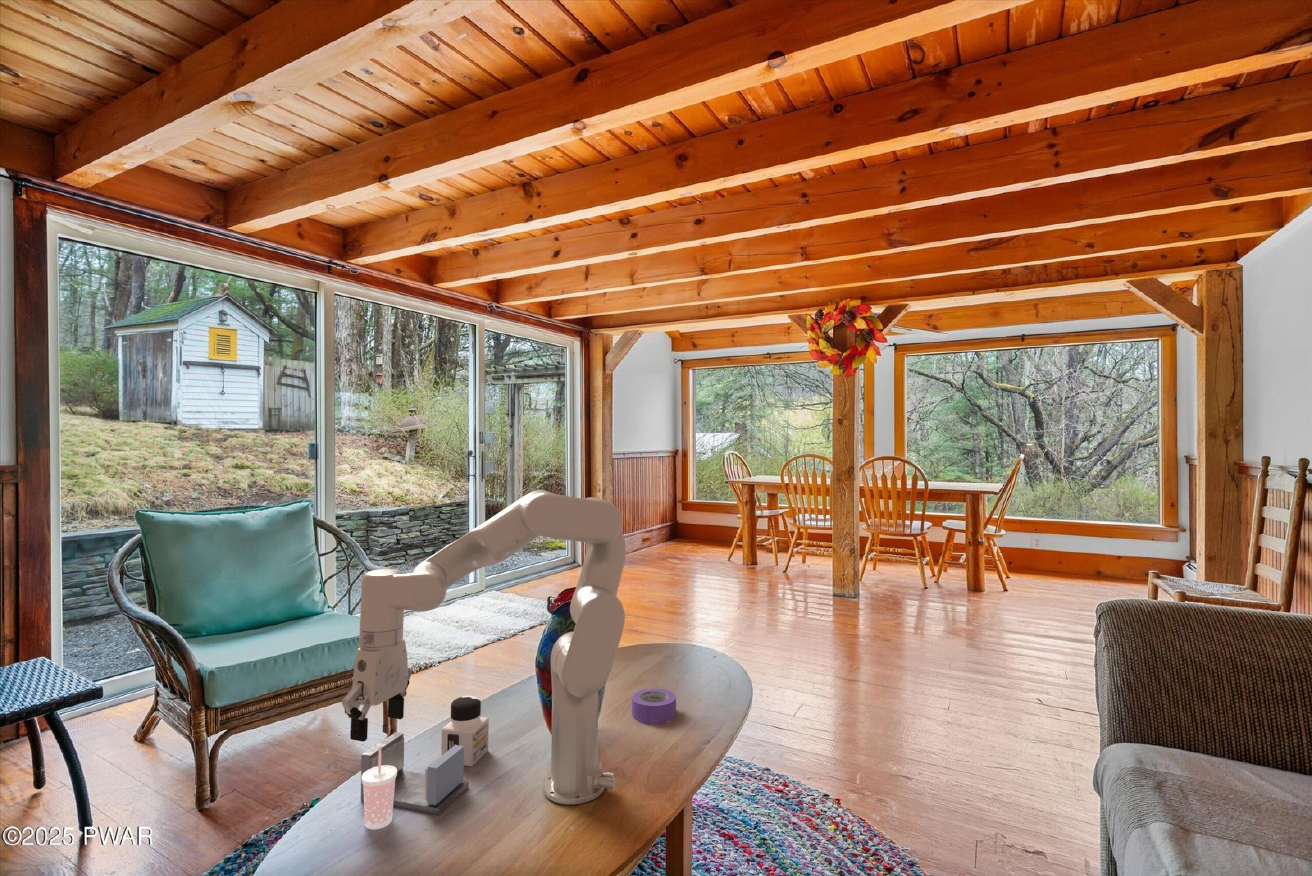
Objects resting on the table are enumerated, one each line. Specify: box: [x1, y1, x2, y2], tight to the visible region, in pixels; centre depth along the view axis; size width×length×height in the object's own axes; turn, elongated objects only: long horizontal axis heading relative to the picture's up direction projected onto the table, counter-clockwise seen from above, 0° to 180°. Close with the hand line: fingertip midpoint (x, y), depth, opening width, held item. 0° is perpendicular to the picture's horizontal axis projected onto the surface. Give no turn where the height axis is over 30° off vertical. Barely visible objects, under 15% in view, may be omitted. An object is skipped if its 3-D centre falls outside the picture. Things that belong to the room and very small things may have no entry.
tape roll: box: [631, 687, 677, 726], centre depth 162 cm, size 12×12×5 cm
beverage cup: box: [362, 746, 397, 831], centre depth 115 cm, size 6×6×14 cm
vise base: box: [360, 731, 470, 816], centre depth 124 cm, size 18×10×9 cm, turn 74°
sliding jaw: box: [424, 745, 465, 805], centre depth 122 cm, size 2×9×7 cm, turn 164°
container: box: [440, 695, 490, 767], centre depth 139 cm, size 8×8×13 cm
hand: (377, 728), depth 115 cm, fingers open, 9 cm apart
